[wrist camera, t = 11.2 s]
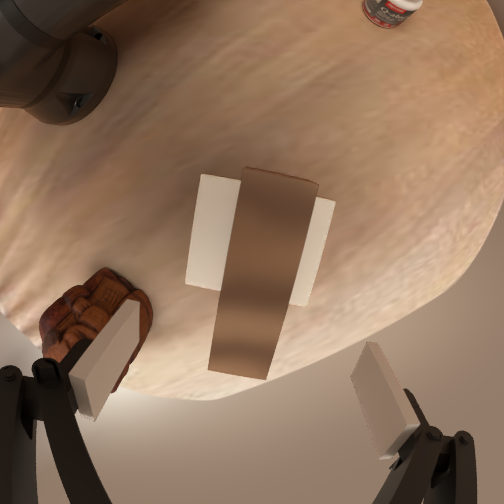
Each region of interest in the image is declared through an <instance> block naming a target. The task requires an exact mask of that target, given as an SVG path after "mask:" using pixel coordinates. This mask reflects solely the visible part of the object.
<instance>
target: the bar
mask: <svg viewBox="0 0 504 504" xmlns="http://www.w3.org/2000/svg"><path fill="white" fill-rule="evenodd" d="M318 187H319V184H316V183H314V182H312V181H310V180H307V179H302V178H298V177H294V176H289V175H285V174H280V173H275V172H271V171H266V170H261V169H256V168H251V167H245V168H244V169H243V174H242V179H241V184H240V189H239V194H238V199H237V204H236V210H235V215H234V220H233V225H232V231H231V236H230V242H229V247H228V252H227V258H226V264H225V269H224V275H223V280H222V286H221V292H220V298H219V303H218V309H217V315H216V321H215V327H214V333H213V339H212V346H211V352H210V358H209V364H208V370H211V371H216V372H221V373H226V374H232V375H237V376H243V377H249V378H256V379H262V380H266V378H267V374H268V371H269V368H270V365H271V362H272V358H273V355H274V352H275V349H276V345H277V342H278V339H279V335H280V332H281V329H282V325H283V322H284V318H285V315H286V311H287V308H288V304H289V301H290V297H291V294H292V290H293V286H294V283H295V279H296V275H297V272H298V268H299V264H300V260H301V257H302V253H303V249H304V245H305V241H306V237H307V233H308V229H309V225H310V221H311V217H312V213H313V209H314V204H315V200H316V196H317V192H318Z"/></svg>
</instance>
